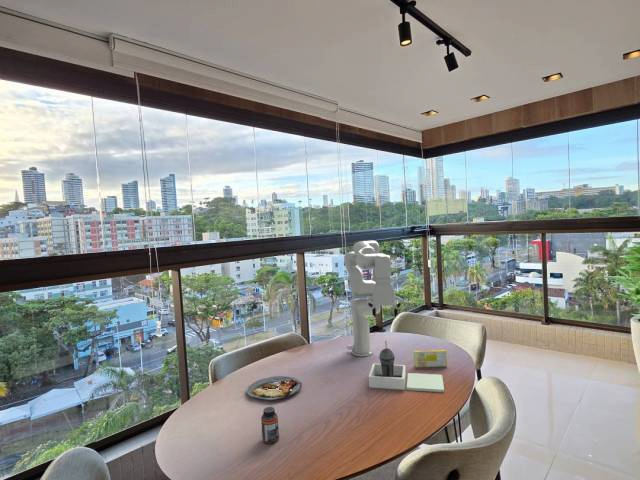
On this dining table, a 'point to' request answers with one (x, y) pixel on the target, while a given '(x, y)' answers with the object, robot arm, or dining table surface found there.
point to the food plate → (274, 394)
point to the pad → (425, 382)
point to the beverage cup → (387, 362)
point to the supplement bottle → (269, 425)
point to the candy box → (430, 358)
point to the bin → (387, 378)
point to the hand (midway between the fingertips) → (385, 316)
